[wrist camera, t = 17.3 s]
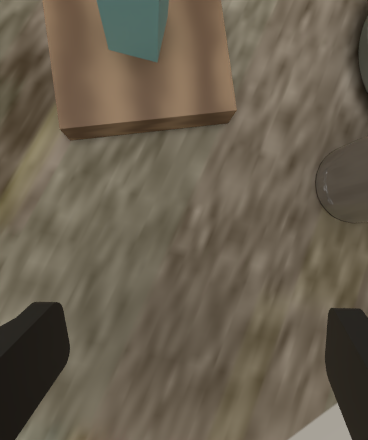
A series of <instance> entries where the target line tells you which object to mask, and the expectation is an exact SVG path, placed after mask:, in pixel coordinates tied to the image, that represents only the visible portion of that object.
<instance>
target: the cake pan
mask: <svg viewBox="0 0 368 440" xmlns="http://www.w3.org/2000/svg"><path fill="white" fill-rule="evenodd" d="M359 67H360V72H361V76H362V80H363V83H364V86H365V89H366V91H367V93H368V16H367V18H366V20H365V23H364V26H363V29H362V32H361V36H360V42H359Z"/></svg>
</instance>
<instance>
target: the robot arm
mask: <svg viewBox="0 0 368 440" xmlns="http://www.w3.org/2000/svg"><path fill="white" fill-rule="evenodd" d="M316 190H317V194H318V197H319V200H320V202H321V204H322V205H323V207H324V208H325V209H326V210H327V211H328V212H329V213H330V214H331V215H332V216H334V217H336V218H337V219H339V220H342V221H345V222H368V136H366V137H363V138H361V139H359V140H356V141H354V142H352V143H349V144H347V145H345V146H343V147H340V148H338V149H336V150H334V151H333V152H331V153H330V154H329V155H328V156H327V157H326V158H325V159H324V160H323V162H322V163H321V165H320V167H319V169H318V172H317V177H316ZM69 352H70V344H69V338H68V333H67V327H66V322H65V317H64V311H63V308H62V305H61V304H60V303H58V302H34V303H32V304H31V305H30V306H28V307H27V308H26V309H25V310H24V311H23V312H22V313H21V314H20V315H19V316H17V317H16V318H15V319H13V320H11V321H9V322H7V323H6V324H4V325H2V326H0V440H15V439H16V437H17V436H18V434H19V433H20V432H21V430H22V429H23V427H24V426H25V424H26V423H27V421H28V420H29V418H30V417H31V415H32V414H33V412H34V411H35V409H36V408H37V407H38V405H39V404H40V402H41V401H42V399H43V398H44V396H45V395H46V393H47V392H48V390H49V389H50V387H51V386H52V384H53V383H54V382H55V380H56V379H57V377H58V376H59V374H60V373H61V371H62V370H63V368H64V367H65V365H66V363H67V361H68V357H69ZM325 364H326V371H327V376H328V379H329V382H330V384H331V387H332V389H333V392H334V395H335V397H336V400H337V402H338V405H339V407H340V410H341V412H342V415H343V417H344V420H345V422H346V425H347V428H348V430H349V433H350V435H351V438H352V440H368V318H367V316H366V315H365V313H364V312H363V311H362V310H361V309H350V308H331V309H330V310H329V313H328V323H327V337H326V350H325Z"/></svg>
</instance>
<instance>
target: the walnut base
mask: <svg viewBox="0 0 368 440" xmlns="http://www.w3.org/2000/svg"><path fill="white" fill-rule="evenodd" d="M43 8H44V15H45V23H46V30H47V38H48V45H49V53H50V60H51V68H52V75H53V83H54V90H55V98H56V105H57V113H58V120H59V128H60V130H61V131H62V132H63V133H64V134H65V135H66V136H67V137H68V139H69V140H79V139H88V138H97V137H106V136H115V135H124V134H133V133H143V132H152V131H161V130H170V129H179V128H188V127H197V126H206V125H216V124H225V123H228V122H229V121H230V119H231V118H232V116H233V115H234V114H235V112H236V111H237V108H236V102H235V95H234V88H233V81H232V74H231V67H230V60H229V53H228V46H227V39H226V32H225V25H224V18H223V11H222V5H221V0H169V5H168V17H167V22H166V26H165V31H164V35H163V40H162V44H161V49H160V53H159V58H158V62H153V61H150V60H146V59H142V58H138V57H134V56H130V55H127V54H123V53H119V52H115V51H111V50H109V49H108V45H107V41H106V37H105V33H104V29H103V25H102V21H101V17H100V13H99V9H98V5H97V1H96V0H43Z"/></svg>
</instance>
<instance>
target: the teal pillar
mask: <svg viewBox="0 0 368 440" xmlns="http://www.w3.org/2000/svg"><path fill="white" fill-rule="evenodd" d="M96 1H97V5H98V9H99V13H100V17H101V21H102V25H103V29H104V33H105V37H106V41H107V45H108V49H109V50H111V51H115V52H119V53H123V54H127V55H130V56H134V57H138V58H142V59H146V60H150V61H153V62H158V58H159V53H160V49H161V44H162V40H163V35H164V31H165V26H166V22H167V17H168V5H169V0H96Z"/></svg>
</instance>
